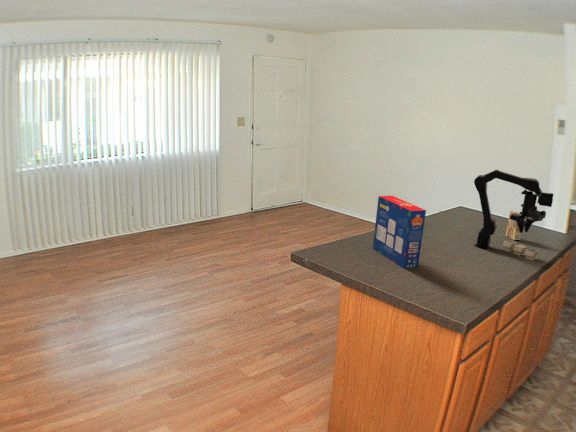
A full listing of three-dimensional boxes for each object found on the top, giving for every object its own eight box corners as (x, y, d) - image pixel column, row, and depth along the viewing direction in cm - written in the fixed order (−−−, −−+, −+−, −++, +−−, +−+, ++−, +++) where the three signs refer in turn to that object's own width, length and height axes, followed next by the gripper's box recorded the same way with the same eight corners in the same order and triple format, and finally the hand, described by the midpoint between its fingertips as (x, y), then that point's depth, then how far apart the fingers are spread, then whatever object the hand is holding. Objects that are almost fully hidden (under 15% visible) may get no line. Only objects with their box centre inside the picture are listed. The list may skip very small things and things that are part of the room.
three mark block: (531, 260, 261) (533, 252, 260) (523, 257, 265) (525, 249, 264) (537, 259, 263) (539, 251, 262) (529, 256, 267) (531, 248, 266)
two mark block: (509, 251, 273) (510, 243, 272) (502, 248, 277) (503, 240, 276) (514, 250, 275) (516, 242, 274) (508, 248, 279) (509, 240, 278)
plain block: (519, 256, 267) (521, 248, 266) (512, 253, 271) (514, 245, 270) (525, 255, 269) (527, 247, 268) (518, 252, 273) (520, 244, 272)
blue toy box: (417, 267, 242) (426, 210, 234) (403, 268, 239) (411, 211, 231) (385, 247, 267) (392, 195, 259) (372, 248, 264) (378, 196, 256)
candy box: (520, 241, 292) (525, 215, 288) (513, 241, 292) (518, 215, 288) (511, 236, 301) (516, 211, 297) (504, 236, 300) (509, 211, 296)
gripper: (530, 208, 251) (524, 238, 256) (555, 206, 260) (549, 235, 264) (511, 203, 261) (506, 232, 265) (536, 201, 269) (530, 229, 274)
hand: (523, 232), depth 267 cm, fingers open, 3 cm apart
